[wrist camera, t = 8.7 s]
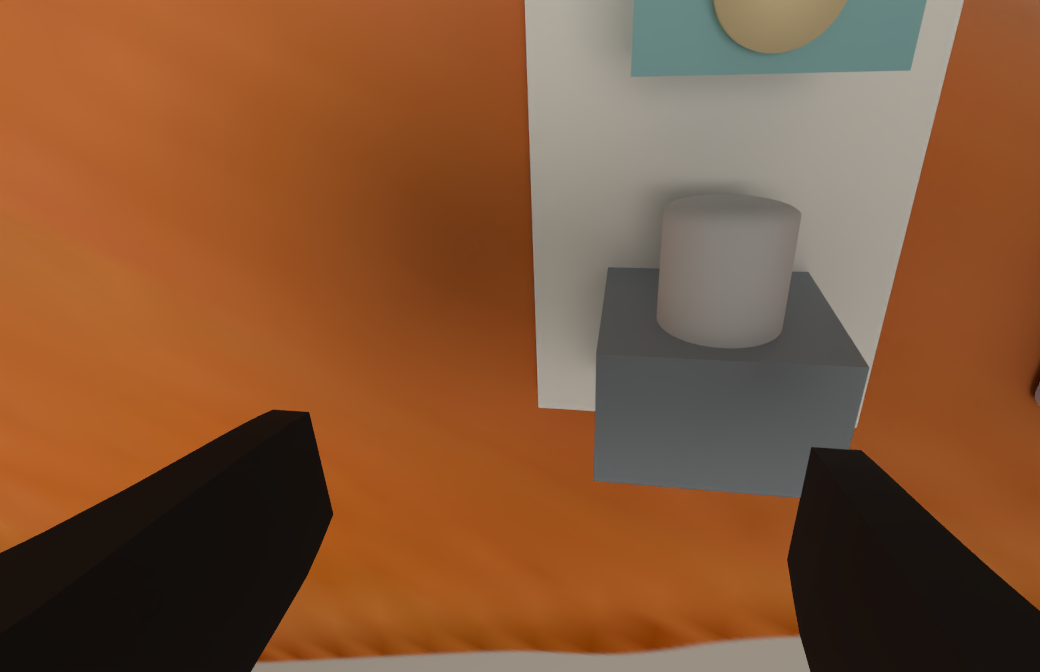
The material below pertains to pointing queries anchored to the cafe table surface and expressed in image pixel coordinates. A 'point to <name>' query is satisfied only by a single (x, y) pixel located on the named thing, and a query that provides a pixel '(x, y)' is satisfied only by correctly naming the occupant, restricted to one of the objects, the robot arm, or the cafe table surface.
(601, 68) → the shaft stand
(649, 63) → the teal block
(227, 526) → the robot arm
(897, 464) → the cafe table surface
